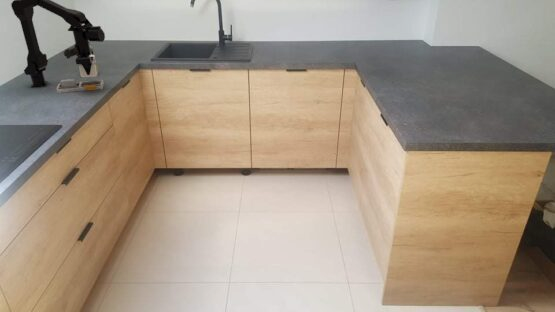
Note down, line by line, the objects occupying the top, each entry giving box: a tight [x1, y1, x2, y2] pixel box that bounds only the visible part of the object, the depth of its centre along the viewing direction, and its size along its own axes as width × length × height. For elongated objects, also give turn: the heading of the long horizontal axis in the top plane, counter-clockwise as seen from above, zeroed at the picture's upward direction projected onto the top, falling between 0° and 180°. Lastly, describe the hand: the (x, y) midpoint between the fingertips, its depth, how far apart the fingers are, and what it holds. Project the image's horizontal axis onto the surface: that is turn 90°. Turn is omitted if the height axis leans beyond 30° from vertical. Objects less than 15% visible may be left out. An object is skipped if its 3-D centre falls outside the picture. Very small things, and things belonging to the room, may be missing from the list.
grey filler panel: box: [60, 78, 77, 87], centre depth 194 cm, size 2×6×4 cm, turn 108°
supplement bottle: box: [90, 54, 99, 75], centre depth 213 cm, size 7×7×13 cm
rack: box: [56, 79, 104, 94], centre depth 195 cm, size 8×20×2 cm, turn 108°
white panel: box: [78, 65, 98, 78], centre depth 193 cm, size 2×7×5 cm, turn 108°
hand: (88, 73), depth 194 cm, fingers closed on white panel, 2 cm apart
